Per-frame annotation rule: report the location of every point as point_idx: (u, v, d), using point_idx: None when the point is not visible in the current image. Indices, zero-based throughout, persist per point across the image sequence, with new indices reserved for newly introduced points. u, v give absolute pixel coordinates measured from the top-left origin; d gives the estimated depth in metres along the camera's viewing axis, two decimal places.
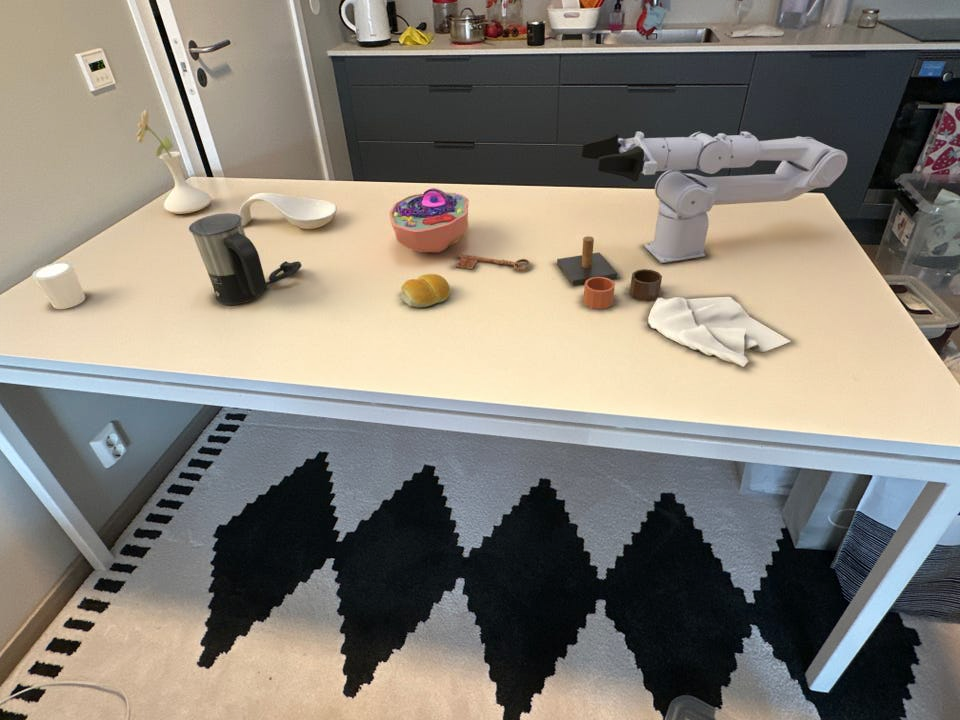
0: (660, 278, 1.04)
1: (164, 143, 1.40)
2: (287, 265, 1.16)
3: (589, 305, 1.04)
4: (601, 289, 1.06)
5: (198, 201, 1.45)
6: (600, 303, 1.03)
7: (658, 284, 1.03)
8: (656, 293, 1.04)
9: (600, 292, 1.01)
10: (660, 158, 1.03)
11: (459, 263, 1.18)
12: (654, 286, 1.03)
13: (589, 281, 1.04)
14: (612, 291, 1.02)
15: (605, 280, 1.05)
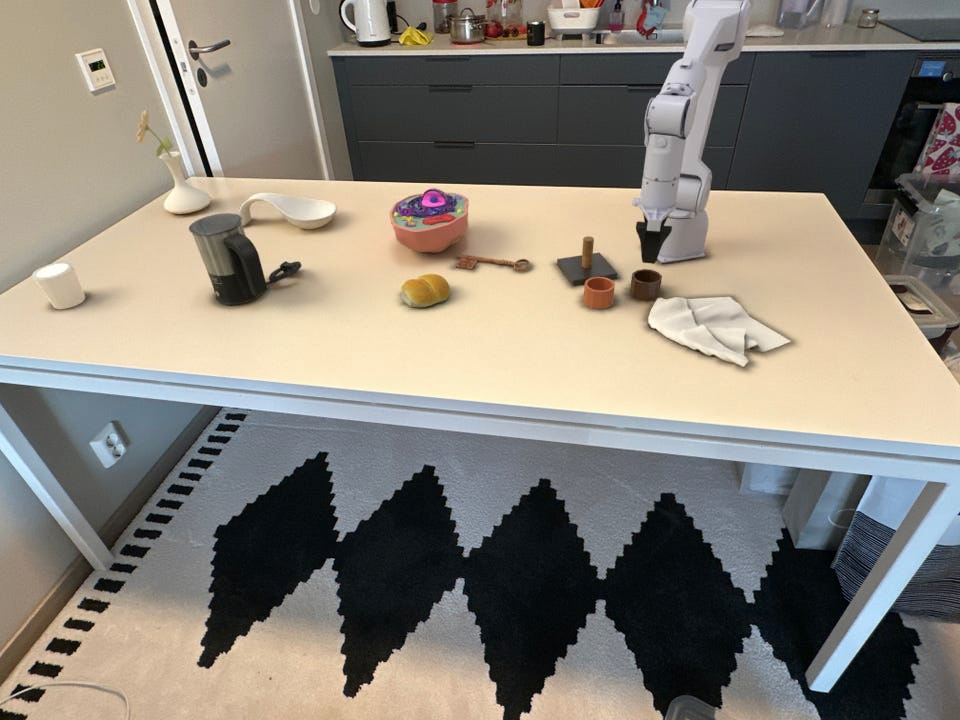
0: (660, 278, 1.04)
1: (164, 143, 1.40)
2: (287, 265, 1.16)
3: (589, 305, 1.04)
4: (601, 289, 1.06)
5: (198, 201, 1.45)
6: (600, 303, 1.03)
7: (658, 284, 1.03)
8: (656, 293, 1.04)
9: (600, 292, 1.01)
10: (657, 190, 0.92)
11: (459, 263, 1.18)
12: (654, 286, 1.03)
13: (589, 281, 1.04)
14: (612, 291, 1.02)
15: (605, 280, 1.05)
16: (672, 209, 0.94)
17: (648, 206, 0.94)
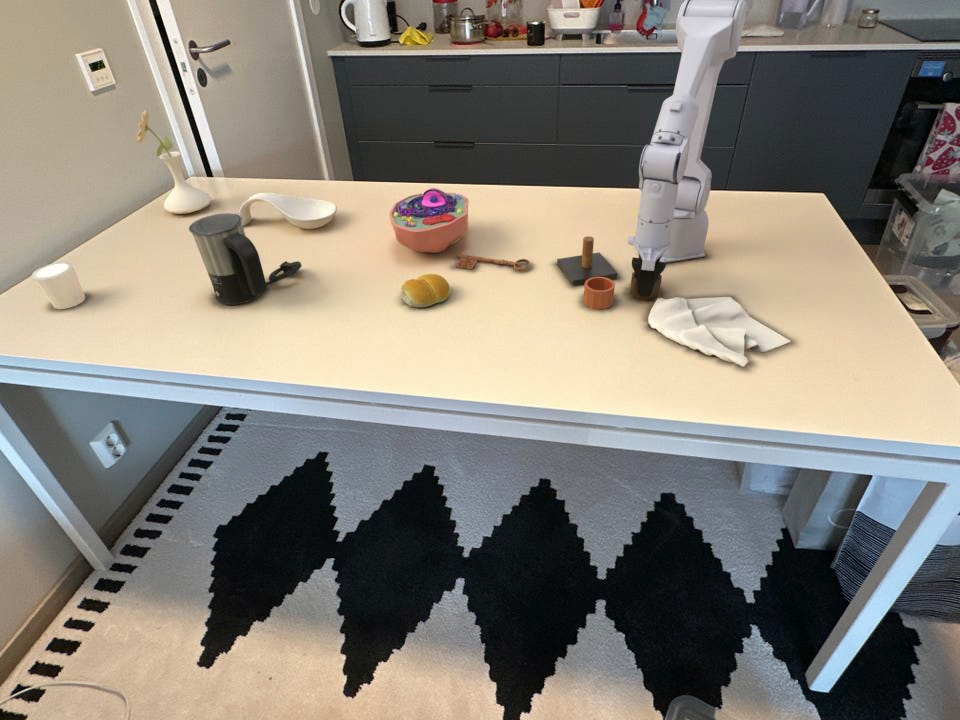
0: (660, 278, 1.04)
1: (164, 143, 1.40)
2: (287, 265, 1.16)
3: (589, 305, 1.04)
4: (601, 289, 1.06)
5: (198, 201, 1.45)
6: (600, 303, 1.03)
7: (658, 284, 1.03)
8: (656, 293, 1.04)
9: (600, 292, 1.01)
10: (651, 231, 0.96)
11: (459, 263, 1.18)
12: (654, 286, 1.03)
13: (589, 281, 1.04)
14: (612, 291, 1.02)
15: (605, 280, 1.05)
16: (666, 248, 0.98)
17: (643, 245, 0.99)
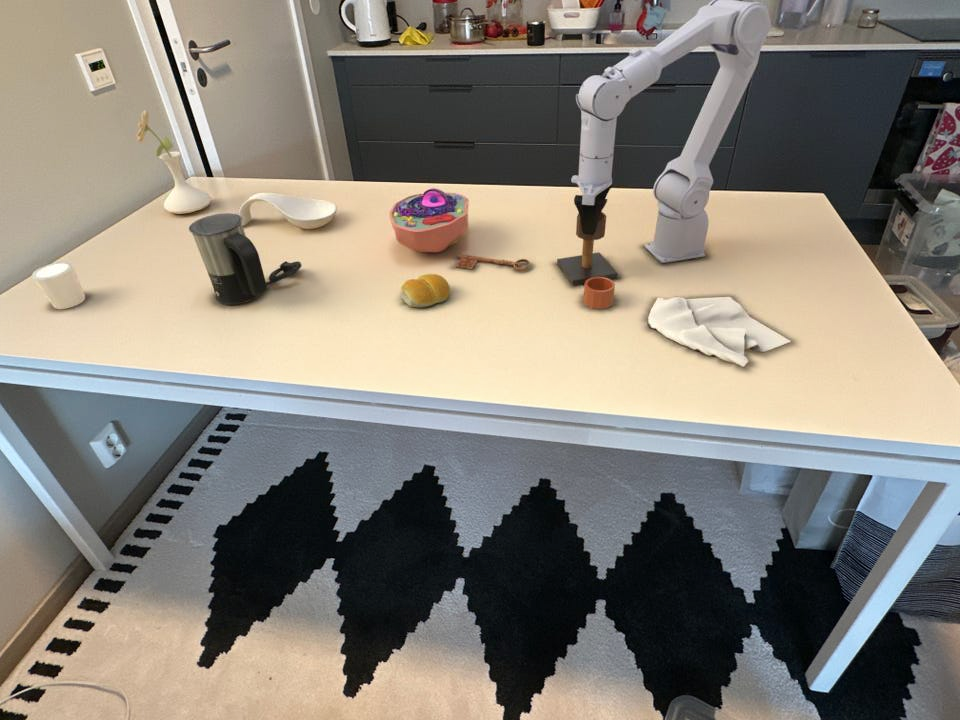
0: (604, 217, 1.06)
1: (164, 143, 1.40)
2: (287, 265, 1.16)
3: (589, 305, 1.04)
4: (601, 289, 1.06)
5: (198, 201, 1.45)
6: (600, 303, 1.03)
7: (602, 223, 1.06)
8: (601, 232, 1.06)
9: (600, 292, 1.01)
10: (592, 167, 0.99)
11: (459, 263, 1.18)
12: (598, 225, 1.05)
13: (589, 281, 1.04)
14: (612, 291, 1.02)
15: (605, 280, 1.05)
16: (607, 185, 1.01)
17: (585, 182, 1.01)
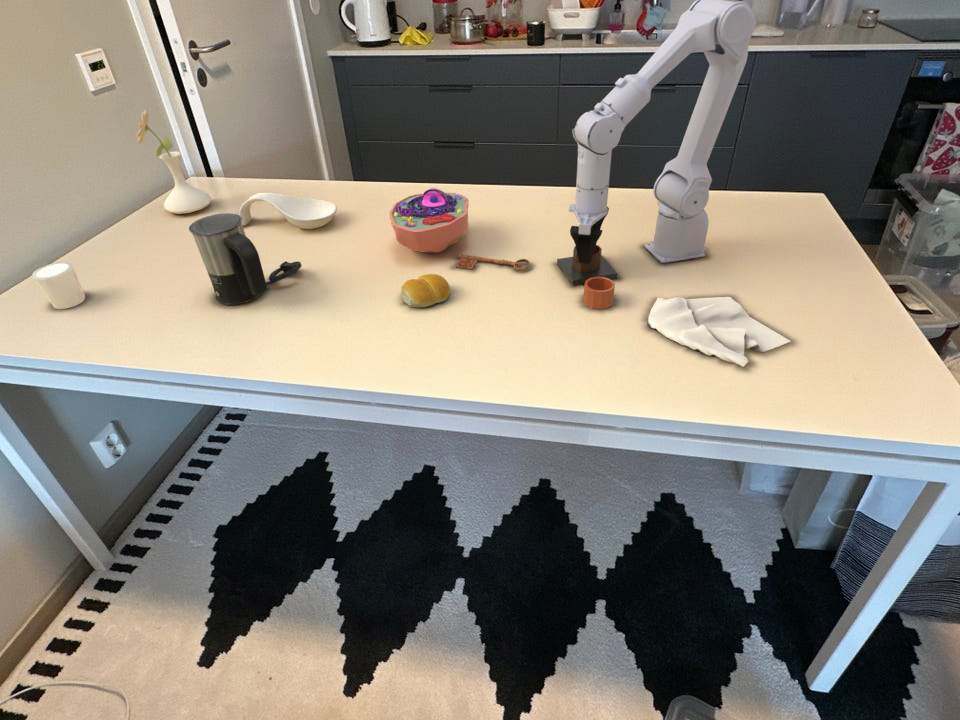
0: (599, 251, 1.10)
1: (164, 143, 1.40)
2: (287, 265, 1.16)
3: (589, 305, 1.04)
4: (601, 289, 1.06)
5: (198, 201, 1.45)
6: (600, 303, 1.03)
7: (597, 256, 1.10)
8: (596, 265, 1.11)
9: (600, 292, 1.01)
10: (588, 197, 1.02)
11: (459, 263, 1.18)
12: (593, 258, 1.10)
13: (589, 281, 1.04)
14: (612, 291, 1.02)
15: (605, 280, 1.05)
16: (603, 214, 1.04)
17: (581, 212, 1.04)
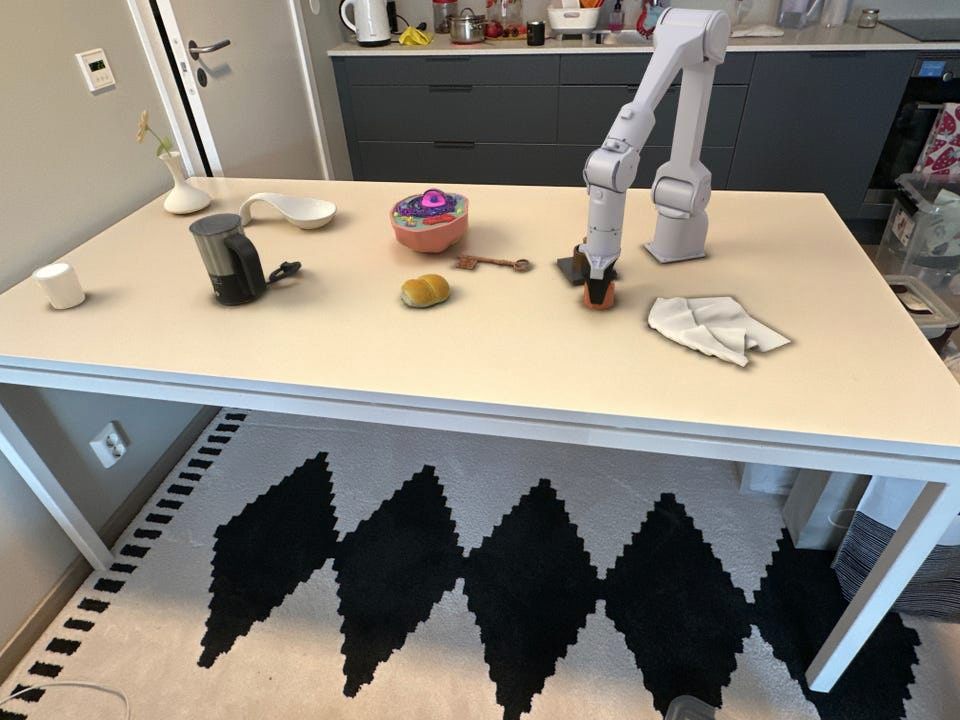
0: None
1: (164, 143, 1.40)
2: (287, 265, 1.16)
3: (589, 305, 1.04)
4: None
5: (198, 201, 1.45)
6: None
7: None
8: None
9: None
10: (600, 239, 0.95)
11: (459, 263, 1.18)
12: None
13: None
14: (612, 291, 1.02)
15: None
16: (616, 256, 0.97)
17: (593, 253, 0.97)
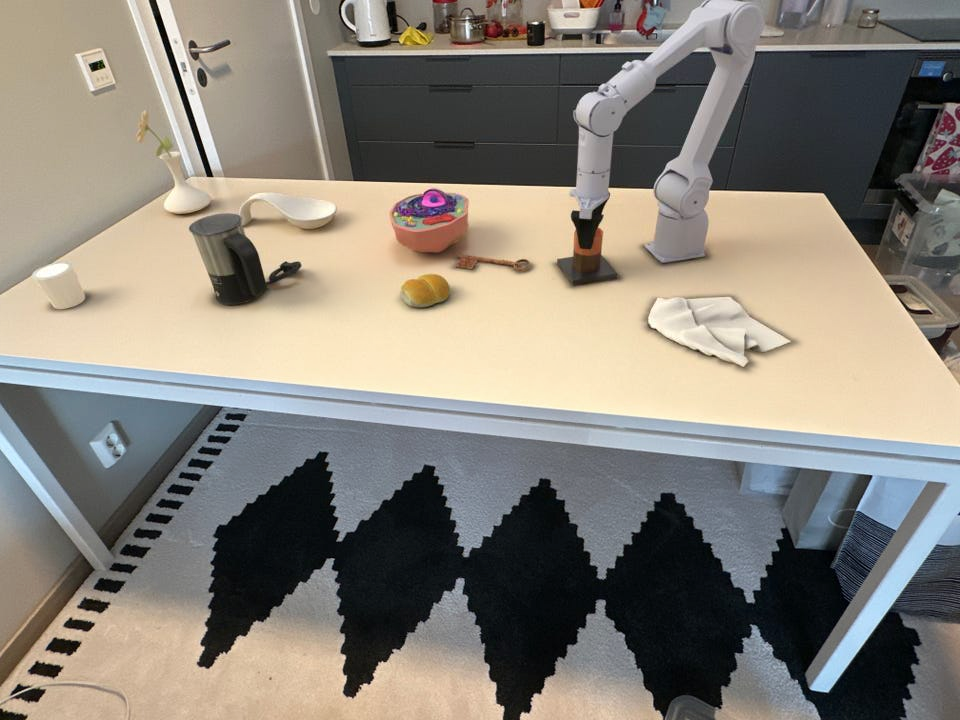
0: None
1: (164, 143, 1.40)
2: (287, 265, 1.16)
3: (579, 252, 1.10)
4: None
5: (198, 201, 1.45)
6: (589, 250, 1.08)
7: (597, 256, 1.10)
8: (596, 265, 1.11)
9: None
10: (589, 181, 1.00)
11: (459, 263, 1.18)
12: (593, 258, 1.10)
13: None
14: (600, 238, 1.08)
15: None
16: (604, 199, 1.02)
17: (582, 196, 1.03)
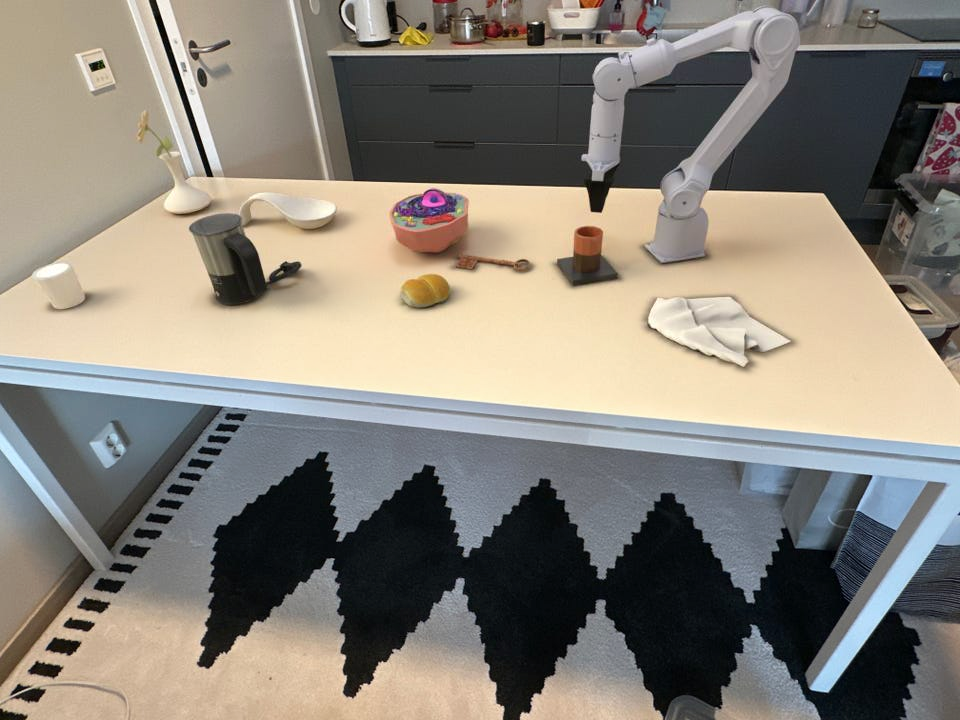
0: None
1: (164, 143, 1.40)
2: (287, 265, 1.16)
3: (579, 252, 1.10)
4: None
5: (198, 201, 1.45)
6: (589, 250, 1.08)
7: (597, 256, 1.10)
8: (596, 265, 1.11)
9: (589, 238, 1.07)
10: (601, 145, 1.04)
11: (459, 263, 1.18)
12: (593, 258, 1.10)
13: (579, 230, 1.10)
14: (600, 238, 1.08)
15: (593, 229, 1.11)
16: (615, 163, 1.06)
17: (594, 160, 1.07)
